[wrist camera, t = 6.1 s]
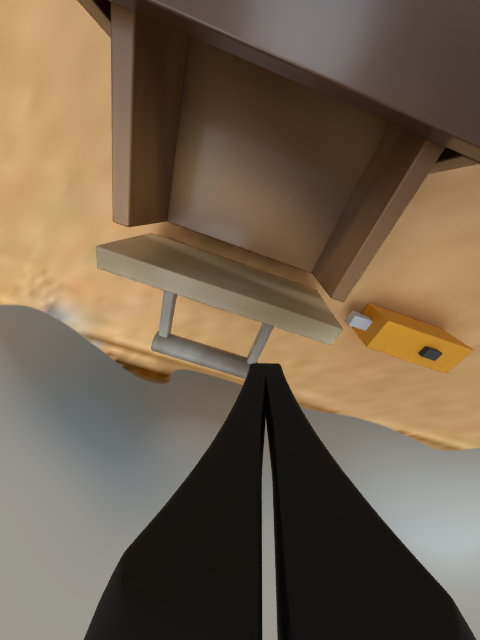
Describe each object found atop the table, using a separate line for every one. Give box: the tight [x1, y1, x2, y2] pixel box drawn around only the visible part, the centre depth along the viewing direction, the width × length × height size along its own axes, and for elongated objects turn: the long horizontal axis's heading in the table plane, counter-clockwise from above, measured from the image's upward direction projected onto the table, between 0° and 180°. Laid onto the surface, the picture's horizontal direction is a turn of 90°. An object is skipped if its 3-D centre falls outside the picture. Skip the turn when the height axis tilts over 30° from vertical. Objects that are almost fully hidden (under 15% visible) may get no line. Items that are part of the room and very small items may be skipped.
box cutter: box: [345, 304, 473, 373], centre depth 16 cm, size 9×3×3 cm, turn 72°
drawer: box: [96, 2, 446, 379], centre depth 11 cm, size 18×13×6 cm
